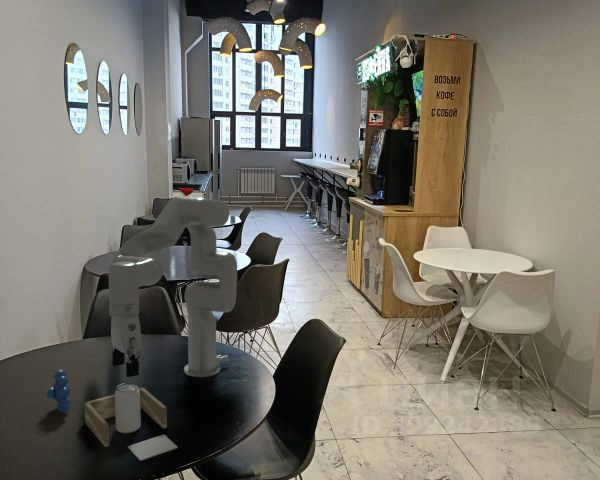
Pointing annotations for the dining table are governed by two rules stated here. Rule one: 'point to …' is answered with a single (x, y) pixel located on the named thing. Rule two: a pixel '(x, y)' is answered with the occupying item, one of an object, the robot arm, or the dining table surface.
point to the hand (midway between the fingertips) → (125, 370)
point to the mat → (152, 447)
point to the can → (127, 408)
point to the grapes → (60, 392)
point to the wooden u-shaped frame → (106, 409)
